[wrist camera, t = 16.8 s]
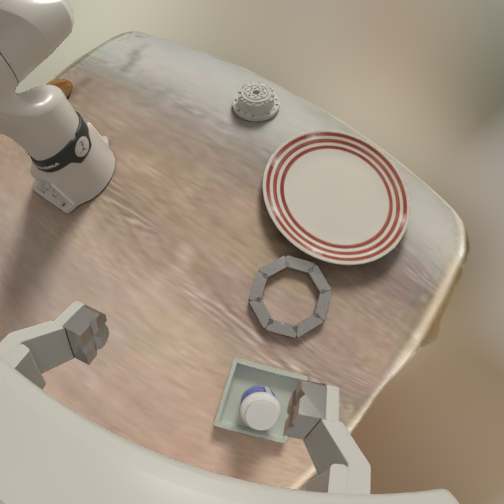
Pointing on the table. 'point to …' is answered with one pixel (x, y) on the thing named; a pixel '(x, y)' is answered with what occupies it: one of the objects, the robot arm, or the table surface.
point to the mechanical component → (256, 102)
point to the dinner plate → (336, 197)
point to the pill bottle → (260, 407)
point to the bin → (250, 375)
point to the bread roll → (62, 86)
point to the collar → (316, 279)
